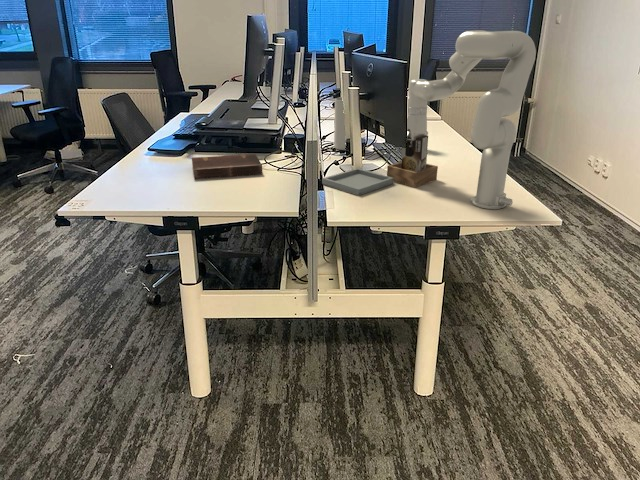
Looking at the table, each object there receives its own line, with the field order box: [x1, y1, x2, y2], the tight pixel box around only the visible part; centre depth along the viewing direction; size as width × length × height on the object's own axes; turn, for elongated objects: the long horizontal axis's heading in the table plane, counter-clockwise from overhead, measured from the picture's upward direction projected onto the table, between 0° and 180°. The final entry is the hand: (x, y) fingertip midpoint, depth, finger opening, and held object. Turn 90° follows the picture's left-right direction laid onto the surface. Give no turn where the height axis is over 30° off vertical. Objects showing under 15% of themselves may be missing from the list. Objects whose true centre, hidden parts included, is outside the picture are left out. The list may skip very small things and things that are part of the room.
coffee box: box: [401, 135, 429, 172], centre depth 217 cm, size 9×6×16 cm
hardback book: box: [191, 153, 263, 180], centre depth 232 cm, size 29×19×5 cm, turn 105°
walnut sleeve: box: [386, 161, 439, 188], centre depth 221 cm, size 15×15×6 cm
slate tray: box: [321, 167, 395, 196], centre depth 216 cm, size 20×22×2 cm
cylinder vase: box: [333, 96, 347, 151], centre depth 268 cm, size 12×12×25 cm
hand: (414, 154), depth 217 cm, fingers closed on coffee box, 7 cm apart
